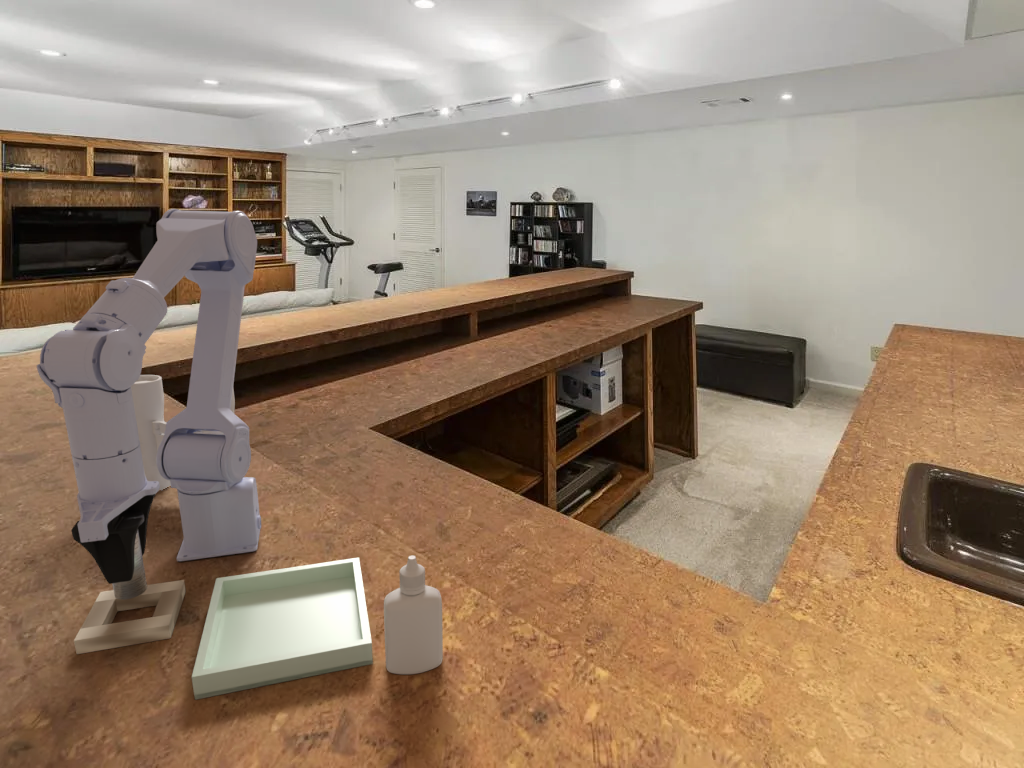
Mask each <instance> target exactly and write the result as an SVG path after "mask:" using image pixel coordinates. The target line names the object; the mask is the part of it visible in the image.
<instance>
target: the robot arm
mask: <svg viewBox="0 0 1024 768" xmlns="http://www.w3.org/2000/svg"><path fill="white" fill-rule="evenodd" d="M155 225H156V227H155V228H156V229H155V230H156V238H157V241H155V244H154V245H153V247H152V248H151V250H150V251H149V253H148V254H147V255H146V257H145V259H144V260H143V261H142V263H141V264H140V266H139V267H138V270H136V273H134V276H133V277H132V278H131V277H122V278H118V279H116V280H110V281H109V282H108V284H106V286H105V291H104V292H103V293H102V294H101V296H99V297H98V299H97V300H96V301H95V302H94V303H93V304H92V306H91V307H90V308H89V309H88V310H87V312H86V313H85V314H84V315H83V316H82V317H81V318H80V320H79V321H78V322H77V324H75V326H74V327H73V328H72V329H64V330H60V331H58V332H57V333H54V334H53V336H51V337H49V338H48V339H47V340H46V341H45V342H44V344H43V346H42V348H41V351H40V355H39V364H36V371H37V373H38V375H39V377H40V379H41V380H42V382H43V383H44V384H45V385H46V386H47V387H49V388H50V389H51V391H52V394H53V397H54V398H53V399H54V403H55V404H57V405H58V407H59V408H62V411H63V415H64V423H65V427H66V431H67V432H66V434H67V439H68V444H69V448H70V454H71V458H72V464H73V470H74V475H75V480H76V485H77V490H78V493H77V495H76V499H77V504H78V509H79V510H78V511H79V513H80V514H79V515H80V519H79V520H77V522H75V524H74V525H73V527H72V528H71V536H72V538H73V540H74V541H76V542H77V543H78V544H79V545H81V546H82V547H83V548H84V549H85V550H86V551H87V552H88V553H89V554H90V556H92V558H93V559H94V561H95V563H96V564H97V566H98V568H99V570H100V572H101V573H102V576H104V579H105V580H106V581H107V584H109V585H112V583H119V582H126V581H131V579H132V577H133V573H134V547H135V539H136V534H137V531H138V533H139V539H140V545H141V552H142V557H144V554H145V549H146V545H147V532H148V522H149V517H150V513H151V512H150V511H151V507H152V504H153V501H154V499H155V496H156V494H157V493H158V492H159V491H158V490H159V488H160V485H159V482H158V481H147V479H146V476H145V473H144V467H143V460H142V454H141V447H140V441H139V435H138V428H137V422H136V415H135V409H134V402H133V396H132V389H131V386H132V385H133V384H134V383H135V382H136V381H137V380H138V379H139V377H140V375H142V368H143V359H144V356H145V354H146V353H147V352H146V350H147V346H146V343H147V342H148V341H149V340H150V338H151V336H152V334H153V333H155V331H156V329H157V328H158V327H159V325H160V323H162V321H163V319H164V318H165V317H166V315H167V313H168V305H167V301H166V300H165V297H166V296H167V295H168V294H169V293H170V292H171V291H172V290H173V288H175V287H176V285H177V284H178V283H179V282H180V281H181V280H182V279H183V278H184V277H185V278H186V279H187V280H188V281H191V282H193V283H195V284H197V285H198V287H199V289H200V292H201V293H200V300H199V308H198V314H197V315H198V316H197V323H196V330H195V339H194V346H193V347H194V348H193V352H192V353H193V354H192V363H191V369H190V377H189V386H188V393H187V403H186V407H185V408H184V409H183V410H181V411H180V412H179V413H177V414H176V415H174V416H173V417H172V418H169V420H168V421H166V422H167V423H166V429H165V433H164V436H163V439H162V441H161V443H160V445H159V447H158V450H157V455H156V464H157V468H158V470H159V473H160V474H161V476H162V477H163V478H164V479H167V480H170V483H171V487H170V488H171V489H176V492H177V499H178V506H179V513H180V519H181V520H180V521H181V528H182V535H183V539H182V543H181V545H180V548H179V550H178V552H177V553H178V554H177V555H176V561H177V562H185V561H194V560H201V559H207V558H215V557H221V556H222V557H223V556H230V555H235V554H245V553H251V552H256V551H257V550H258V546H259V545H258V544H259V540H260V533H261V529H262V517H261V515H260V505H259V494H258V485H257V480H256V477H252V476H250V477H247V476H246V475H247V473H248V471H249V469H250V465H251V461H252V451H251V450H252V449H251V446H250V427H249V425H247V423H246V422H244V421H243V420H242V419H241V418H240V417H238V415H236V413H235V412H234V413H233V412H232V411H231V410H230V409H231V401H232V392H233V389H234V382H235V373H236V365H237V357H238V348H239V338H240V330H241V322H242V313H243V305H244V296H245V288H246V285H247V284H249V283H250V282H252V281H253V279H254V271H255V266H256V258H257V251H258V250H257V249H258V237H257V236H256V235H257V234H256V232H255V229H254V225H253V223H252V221H251V220H250V218H249V217H248V215H247V214H246V213H245V212H244V211H241V210H232V211H215V210H213V211H212V210H211V211H210V210H207V211H206V210H182V209H181V210H180V209H178V208H171V209H170V208H169V209H168V210H166V211H165V212H164V213H163V215H162V217H161V218H160V219H159V220H158V221H157V222H156V224H155ZM201 430H205V431H221V432H223V433H224V435H217V434H195V433H194V432H196V431H201ZM125 510H137V511H141V512H142V513H143V514H144V522H143V523H142V524H141V525H140V522H141V520H142V517H140V518H131V519H123V517H122V516H121V517H119V514H120V513H122V512H123V511H125ZM139 525H140V526H139Z"/></svg>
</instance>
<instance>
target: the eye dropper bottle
mask: <svg viewBox="0 0 1024 768" xmlns="http://www.w3.org/2000/svg"><path fill="white" fill-rule="evenodd" d="M398 573H399V587H397V588H395V589H394V590H393V591H390V592H388V594H386V596H385V598H384V600H383V618H384V619H383V623H384V624H383V625H384V626H383V628H384V650H385V652H384V653H385V668H386V670H387V671H388V672H389V673H390V674H395V675H416V674H421V673H425V672H428V671H431V670H433V669H436V668H437V667H439V666H440V665H441V664H442V662H443V659H444V657H443V656H444V655H443V654H444V653H443V652H444V650H443V648H444V647H443V642H444V641H443V635H444V634H443V600H442V596H441V592H440V590H439V589H438V588H436V587H433V586H431V585H427V584H426V569H425V567H424V566H423V565H422V564H420V563H418V561H417V557H416V555H408V557H407V562H406V564H405V565H403V566H402V567H401V568H400V569H399V571H398Z"/></svg>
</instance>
